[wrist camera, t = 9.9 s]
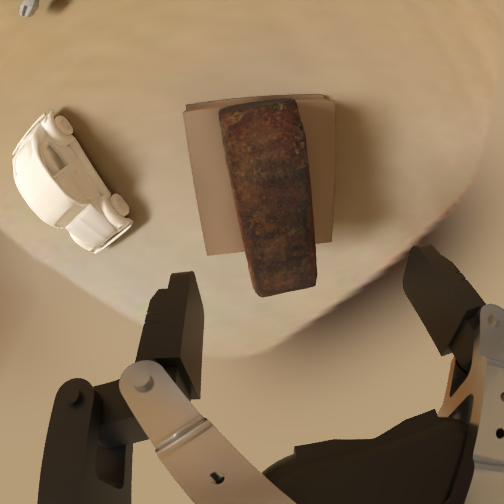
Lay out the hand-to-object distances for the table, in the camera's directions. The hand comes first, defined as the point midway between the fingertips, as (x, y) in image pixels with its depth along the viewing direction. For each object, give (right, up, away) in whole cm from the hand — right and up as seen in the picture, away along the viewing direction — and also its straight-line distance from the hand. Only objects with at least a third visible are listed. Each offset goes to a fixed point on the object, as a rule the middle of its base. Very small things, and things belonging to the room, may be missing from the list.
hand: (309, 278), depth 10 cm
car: (-16, +7, +10) cm, 21 cm away
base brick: (-1, +7, +11) cm, 13 cm away
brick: (-1, +5, +8) cm, 10 cm away
